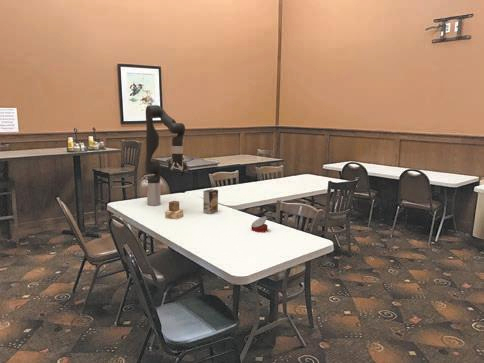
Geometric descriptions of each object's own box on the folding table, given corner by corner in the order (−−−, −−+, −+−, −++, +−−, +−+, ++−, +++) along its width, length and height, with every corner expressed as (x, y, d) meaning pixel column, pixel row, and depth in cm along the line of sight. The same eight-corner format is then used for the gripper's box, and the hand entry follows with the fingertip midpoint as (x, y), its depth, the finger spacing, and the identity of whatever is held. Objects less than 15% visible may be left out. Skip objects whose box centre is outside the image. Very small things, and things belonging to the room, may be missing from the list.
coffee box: (210, 214, 285) (210, 191, 283) (203, 213, 289) (203, 190, 286) (218, 211, 293) (218, 189, 290) (211, 210, 296) (211, 188, 294)
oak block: (165, 218, 274) (165, 211, 273) (171, 215, 282) (171, 208, 282) (177, 219, 271) (177, 212, 270) (183, 216, 280) (183, 209, 279)
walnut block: (168, 210, 275) (168, 202, 274) (173, 209, 279) (173, 200, 278) (174, 211, 273) (174, 202, 272) (179, 210, 277) (179, 201, 276)
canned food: (264, 239, 247) (264, 227, 240) (249, 235, 250) (248, 224, 244) (270, 226, 255) (270, 215, 249) (255, 223, 258) (254, 211, 252)
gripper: (165, 152, 279) (165, 175, 283) (182, 153, 272) (182, 177, 276) (172, 151, 286) (172, 173, 289) (189, 152, 279) (189, 176, 282)
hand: (177, 175), depth 282 cm, fingers open, 8 cm apart
